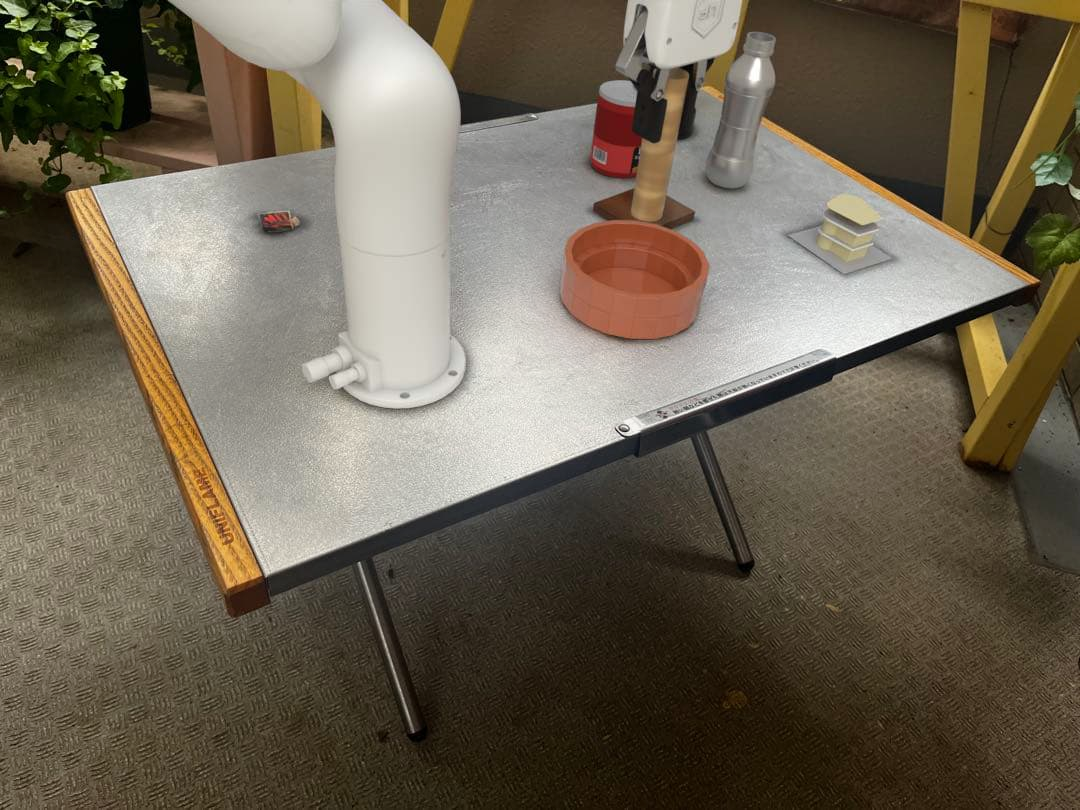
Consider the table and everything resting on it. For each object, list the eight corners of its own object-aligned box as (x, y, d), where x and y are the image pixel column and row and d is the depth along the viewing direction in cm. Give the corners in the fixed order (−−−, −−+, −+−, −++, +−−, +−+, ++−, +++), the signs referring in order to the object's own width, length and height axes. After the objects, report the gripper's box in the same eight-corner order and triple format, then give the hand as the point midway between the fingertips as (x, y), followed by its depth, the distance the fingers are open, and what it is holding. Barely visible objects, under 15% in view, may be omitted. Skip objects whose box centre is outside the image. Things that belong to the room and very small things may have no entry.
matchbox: (267, 236, 94) (266, 233, 94) (251, 217, 97) (250, 213, 97) (304, 227, 97) (304, 223, 96) (288, 208, 100) (287, 205, 99)
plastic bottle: (721, 197, 111) (759, 48, 98) (692, 176, 116) (725, 30, 102) (757, 189, 114) (798, 43, 100) (727, 169, 118) (763, 26, 105)
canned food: (641, 183, 113) (655, 105, 105) (585, 173, 113) (595, 96, 106) (646, 160, 118) (660, 85, 111) (593, 151, 119) (603, 76, 112)
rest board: (641, 241, 101) (643, 232, 100) (592, 211, 106) (593, 202, 105) (693, 219, 106) (695, 211, 105) (644, 191, 111) (646, 183, 110)
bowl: (629, 363, 82) (638, 316, 78) (531, 291, 91) (535, 245, 87) (725, 312, 91) (738, 267, 87) (627, 251, 99) (635, 207, 95)
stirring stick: (646, 225, 79) (672, 81, 69) (624, 211, 81) (646, 69, 71) (668, 216, 80) (696, 75, 71) (646, 203, 82) (670, 63, 73)
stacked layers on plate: (892, 258, 102) (909, 220, 99) (843, 274, 99) (859, 235, 95) (835, 222, 109) (849, 184, 105) (787, 235, 105) (799, 197, 101)
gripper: (662, -74, 56) (625, 170, 69) (802, -93, 65) (747, 128, 77) (590, -97, 60) (568, 137, 73) (731, -112, 69) (689, 101, 81)
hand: (660, 130), depth 75 cm, fingers closed on stirring stick, 3 cm apart
